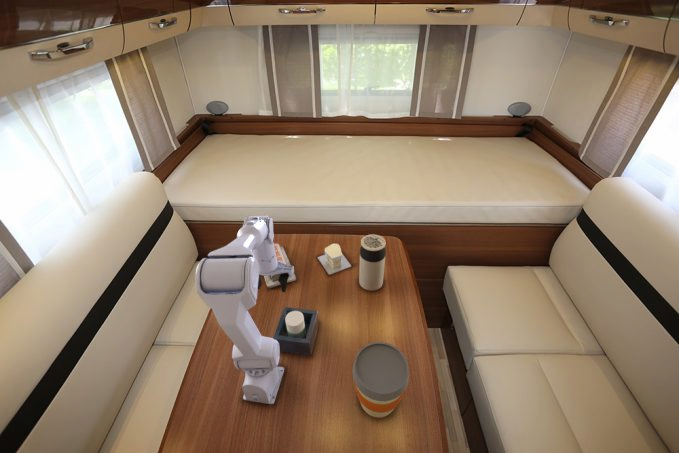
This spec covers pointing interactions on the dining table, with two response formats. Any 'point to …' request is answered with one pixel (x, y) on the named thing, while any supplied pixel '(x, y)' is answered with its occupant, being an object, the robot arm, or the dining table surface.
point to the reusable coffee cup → (380, 377)
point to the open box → (297, 343)
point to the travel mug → (372, 262)
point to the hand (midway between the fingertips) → (272, 288)
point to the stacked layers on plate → (333, 259)
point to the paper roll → (295, 325)
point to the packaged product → (273, 279)
